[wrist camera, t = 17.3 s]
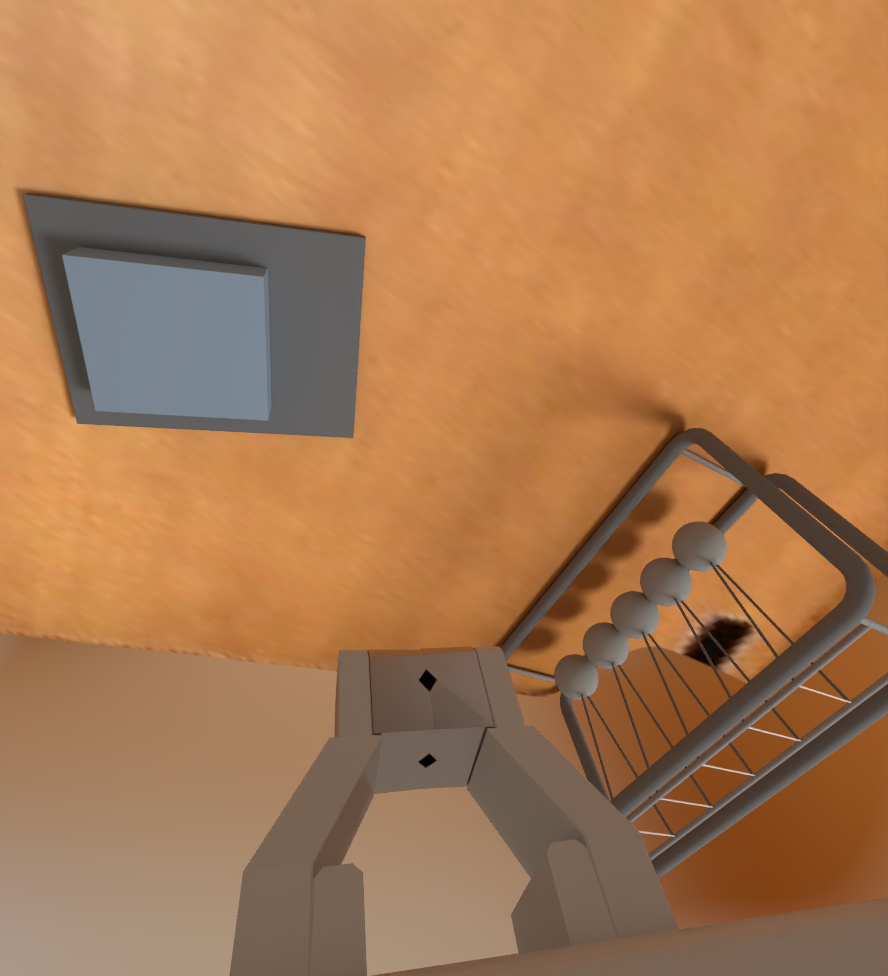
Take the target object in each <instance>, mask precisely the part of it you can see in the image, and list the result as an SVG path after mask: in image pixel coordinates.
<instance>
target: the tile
mask: <svg viewBox="0 0 888 976" xmlns="http://www.w3.org/2000/svg"><path fill="white" fill-rule="evenodd" d="M62 257H63V262H64V266H65V271H66V276H67V280H68V285H69V290H70V294H71V299H72V304H73V308H74V313H75V318H76V322H77V327H78V332H79V336H80V341H81V346H82V350H83V355H84V360H85V364H86V369H87V374H88V378H89V383H90V388H91V392H92V397H93V402H94V406H95V411H106V412H124V413H141V414H159V415H177V416H195V417H212V418H230V419H248V420H266V421H268V419H269V415H270V411H271V406H272V401H271V364H270V327H269V289H268V268H262V267H253V266H244V265H235V264H226V263H217V262H208V261H199V260H191V259H182V258H173V257H164V256H155V255H146V254H137V253H128V252H119V251H110V250H102V249H93V248H84V247H78V248H75V249H73V250H71V251H69V252H67V253H65V254H63V255H62Z"/></svg>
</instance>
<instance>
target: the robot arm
mask: <svg viewBox="0 0 888 976" xmlns="http://www.w3.org/2000/svg"><path fill="white" fill-rule="evenodd" d="M464 786H468V787H467V790H468V791H469V792H470V794H471V795H472V796H473V798H474V799H475V801H476V802H477V803H478V805H479V806H480V808H481V809H482V810H483V812H484V813H485V815H486V816H487V817H488V819H489V820H490V822H491V823H492V824H493V826H494V827H495V828H496V830H497V831H498V833H499V834H500V835H501V837H502V838H503V840H504V841H505V842H506V844H507V845H508V847H509V848H510V849H511V851H512V852H513V853H514V855H515V856H516V858H517V859H518V861H519V862H520V863H521V865H522V866H523V868H524V869H525V870H526V872H527V873H528V875H529V876H530V877H531V880H530V882H529V884H528V885H527V887H526V889H525V891H524V892H523V894H522V896H521V898H520V900H519V902H518V903H517V905H516V907H515V908H514V910H513V912H512V914H511V917H512V922H513V927H514V932H515V937H516V942H517V947H518V952H519V953H518V954H512V955H506V956H498V957H492V958H485V959H479V960H472V961H465V962H459V963H452V964H445V965H439V966H432V967H426V968H420V969H412V970H406V971H399V972H392V973H386V974H379V975H373V976H888V898H884V899H876V900H869V901H863V902H856V903H850V904H843V905H837V906H830V907H823V908H817V909H810V910H803V911H797V912H790V913H784V914H777V915H770V916H763V917H757V918H751V919H744V920H737V921H730V922H724V923H717V924H711V925H704V926H697V927H691V928H685V929H679V928H678V926H677V923H676V921H675V918H674V916H673V914H672V911H671V908H670V906H669V904H668V901H667V899H666V896H665V894H664V891H663V889H662V887H661V884H660V882H659V879H658V876H657V874H656V872H655V869H654V867H653V864H652V862H651V859H650V857H649V854H648V852H647V849H646V847H645V844H644V842H643V840H642V837H641V835H640V832H639V830H638V829H637V828H636V827H634V825H632V823H631V822H630V821H629V820H628V819H627V818H625V817H624V816H623V815H622V814H621V813H620V812H619V811H618V810H617V809H616V808H615V807H614V806H613V805H612V804H611V803H610V802H609V801H608V800H607V799H606V798H605V797H604V796H603V795H602V794H601V793H600V792H599V791H598V790H597V789H596V788H595V787H594V786H593V785H592V784H591V783H590V782H589V781H588V780H587V779H586V778H585V777H584V776H583V775H582V774H581V773H580V772H579V771H578V770H577V769H576V768H575V767H574V766H573V765H572V764H571V763H570V762H569V761H568V760H567V759H566V758H565V757H564V756H563V755H562V754H561V753H560V752H559V751H558V750H557V749H556V748H555V747H554V746H553V745H552V744H551V743H550V742H549V741H548V740H547V739H546V738H545V737H544V736H543V735H542V734H541V733H540V732H539V731H538V730H537V729H536V728H535V727H534V726H525V723H524V720H523V716H522V713H521V709H520V706H519V703H518V699H517V696H516V693H515V689H514V686H513V683H512V679H511V676H510V673H509V669H508V666H507V663H506V659H505V656H504V653H503V651H502V649H501V648H500V647H498V646H493V647H473V648H472V647H448V648H424V649H420V650H368V651H367V650H339V654H338V668H337V683H336V702H335V737H332V738H329V740H328V741H327V743H326V744H325V746H324V747H323V749H322V751H321V752H320V754H319V755H318V757H317V758H316V760H315V761H314V763H313V765H312V766H311V768H310V769H309V771H308V772H307V774H306V775H305V777H304V779H303V780H302V782H301V783H300V785H299V786H298V788H297V789H296V791H295V792H294V794H293V795H292V797H291V799H290V800H289V802H288V803H287V805H286V806H285V808H284V809H283V811H282V812H281V814H280V816H279V817H278V819H277V820H276V822H275V823H274V825H273V826H272V828H271V830H270V831H269V833H268V834H267V836H266V837H265V839H264V840H263V842H262V843H261V845H260V846H259V848H258V850H257V851H256V853H255V854H254V856H253V857H252V859H251V860H250V862H249V863H248V865H247V867H246V868H245V870H244V871H243V877H242V885H241V892H240V900H239V908H238V915H237V923H236V931H235V938H234V946H233V953H232V961H231V968H230V976H367V966H366V943H365V942H366V941H365V915H364V887H363V872H362V871H361V870H360V869H358V868H357V867H356V866H355V865H354V864H353V863H351V864H342V865H341V863H342V862H343V860H344V858H345V855H346V853H347V851H348V849H349V847H350V845H351V843H352V841H353V839H354V836H355V834H356V832H357V830H358V828H359V826H360V824H361V822H362V820H363V818H364V816H365V813H366V812H367V810H368V807H369V805H370V803H371V801H372V799H373V795H374V794H377V793H387V792H395V791H404V790H414V789H426V788H443V787H444V788H445V787H464Z"/></svg>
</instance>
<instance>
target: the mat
mask: <svg viewBox="0 0 888 976" xmlns="http://www.w3.org/2000/svg"><path fill="white" fill-rule="evenodd" d="M23 197H24V201H25V205H26V210H27V214H28V218H29V222H30V226H31V231H32V235H33V239H34V243H35V248H36V252H37V256H38V260H39V264H40V269H41V273H42V277H43V281H44V286H45V290H46V294H47V298H48V303H49V307H50V311H51V315H52V319H53V324H54V328H55V332H56V336H57V341H58V345H59V349H60V353H61V357H62V362H63V366H64V370H65V374H66V379H67V383H68V387H69V391H70V396H71V400H72V404H73V408H74V412H75V417H76V421H77V424H95V425H114V426H134V427H153V428H172V429H191V430H211V431H230V432H249V433H269V434H288V435H307V436H327V437H346V438H353V433H354V417H355V401H356V384H357V368H358V352H359V336H360V320H361V303H362V287H363V271H364V255H365V239H366V238H365V236H358V235H350V234H342V233H335V232H327V231H319V230H311V229H304V228H296V227H288V226H280V225H273V224H265V223H257V222H249V221H242V220H234V219H226V218H218V217H210V216H203V215H195V214H187V213H179V212H172V211H164V210H156V209H148V208H141V207H133V206H125V205H117V204H110V203H102V202H94V201H86V200H79V199H71V198H63V197H55V196H48V195H40V194H32V193H27V194H23ZM78 247H84V248H93V249H102V250H110V251H119V252H128V253H137V254H146V255H155V256H164V257H173V258H182V259H191V260H199V261H208V262H217V263H226V264H235V265H244V266H253V267H262V268H268V289H269V327H270V364H271V401H272V406H271V411H270V415H269V419H268V421H266V420H248V419H230V418H212V417H195V416H177V415H159V414H141V413H124V412H106V411H95V406H94V402H93V397H92V392H91V388H90V383H89V378H88V374H87V369H86V364H85V360H84V355H83V350H82V346H81V341H80V336H79V332H78V327H77V322H76V318H75V313H74V308H73V304H72V299H71V294H70V290H69V285H68V280H67V276H66V271H65V266H64V262H63V257H62V255H63V254H65V253H67V252H69V251H71V250H73V249H75V248H78Z"/></svg>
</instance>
